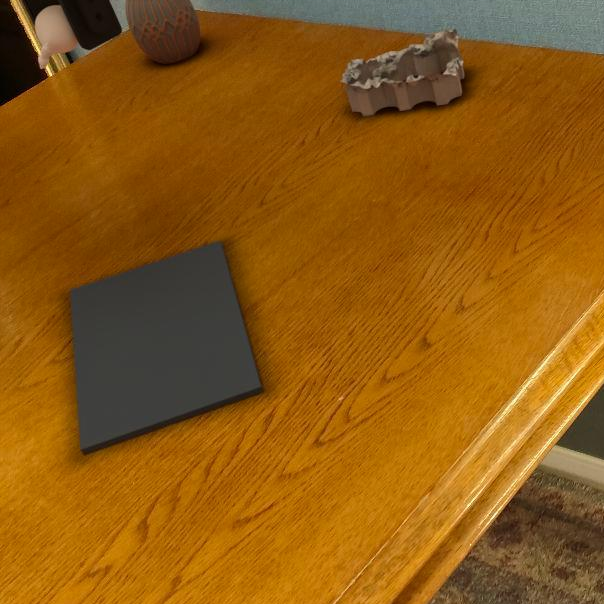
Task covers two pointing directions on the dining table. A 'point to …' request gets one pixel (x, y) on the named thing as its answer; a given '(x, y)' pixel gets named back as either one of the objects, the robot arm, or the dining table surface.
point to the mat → (159, 347)
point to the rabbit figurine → (53, 33)
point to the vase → (164, 28)
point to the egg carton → (407, 76)
